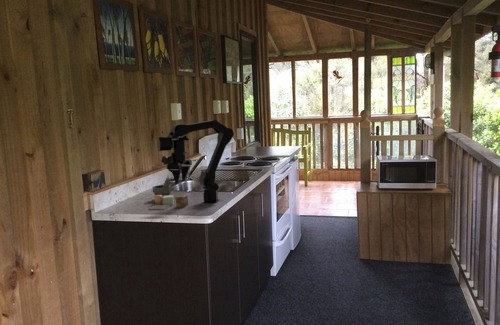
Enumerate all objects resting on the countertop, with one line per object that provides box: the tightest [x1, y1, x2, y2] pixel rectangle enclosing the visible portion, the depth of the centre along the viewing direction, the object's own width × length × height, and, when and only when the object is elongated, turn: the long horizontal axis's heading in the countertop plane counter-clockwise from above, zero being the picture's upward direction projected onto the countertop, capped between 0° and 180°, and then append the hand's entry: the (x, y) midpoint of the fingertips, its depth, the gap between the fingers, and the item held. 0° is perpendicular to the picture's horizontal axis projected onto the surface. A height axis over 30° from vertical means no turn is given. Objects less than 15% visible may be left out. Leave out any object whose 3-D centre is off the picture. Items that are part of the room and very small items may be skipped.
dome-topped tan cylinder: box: [154, 194, 163, 205], centre depth 228 cm, size 4×4×4 cm
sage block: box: [162, 194, 175, 206], centre depth 228 cm, size 5×5×4 cm
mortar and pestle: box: [152, 177, 172, 197], centre depth 239 cm, size 11×9×12 cm
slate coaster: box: [148, 204, 171, 211], centre depth 220 cm, size 8×8×1 cm
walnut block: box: [175, 194, 189, 208], centre depth 222 cm, size 4×4×5 cm
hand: (180, 181), depth 220 cm, fingers open, 9 cm apart
